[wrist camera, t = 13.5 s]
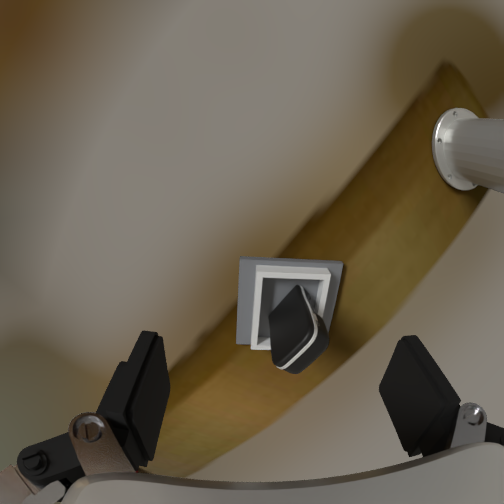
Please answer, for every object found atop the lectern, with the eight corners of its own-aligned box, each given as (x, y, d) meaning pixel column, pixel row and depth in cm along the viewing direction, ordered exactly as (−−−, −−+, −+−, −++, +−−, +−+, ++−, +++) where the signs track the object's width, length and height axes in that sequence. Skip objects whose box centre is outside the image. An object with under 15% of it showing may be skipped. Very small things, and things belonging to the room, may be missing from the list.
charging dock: (341, 261, 40) (347, 270, 37) (324, 341, 45) (328, 353, 42) (239, 256, 39) (239, 265, 37) (236, 339, 44) (235, 352, 42)
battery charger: (286, 328, 43) (296, 383, 32) (265, 316, 42) (271, 371, 31) (317, 295, 41) (338, 345, 30) (297, 281, 40) (313, 331, 29)
